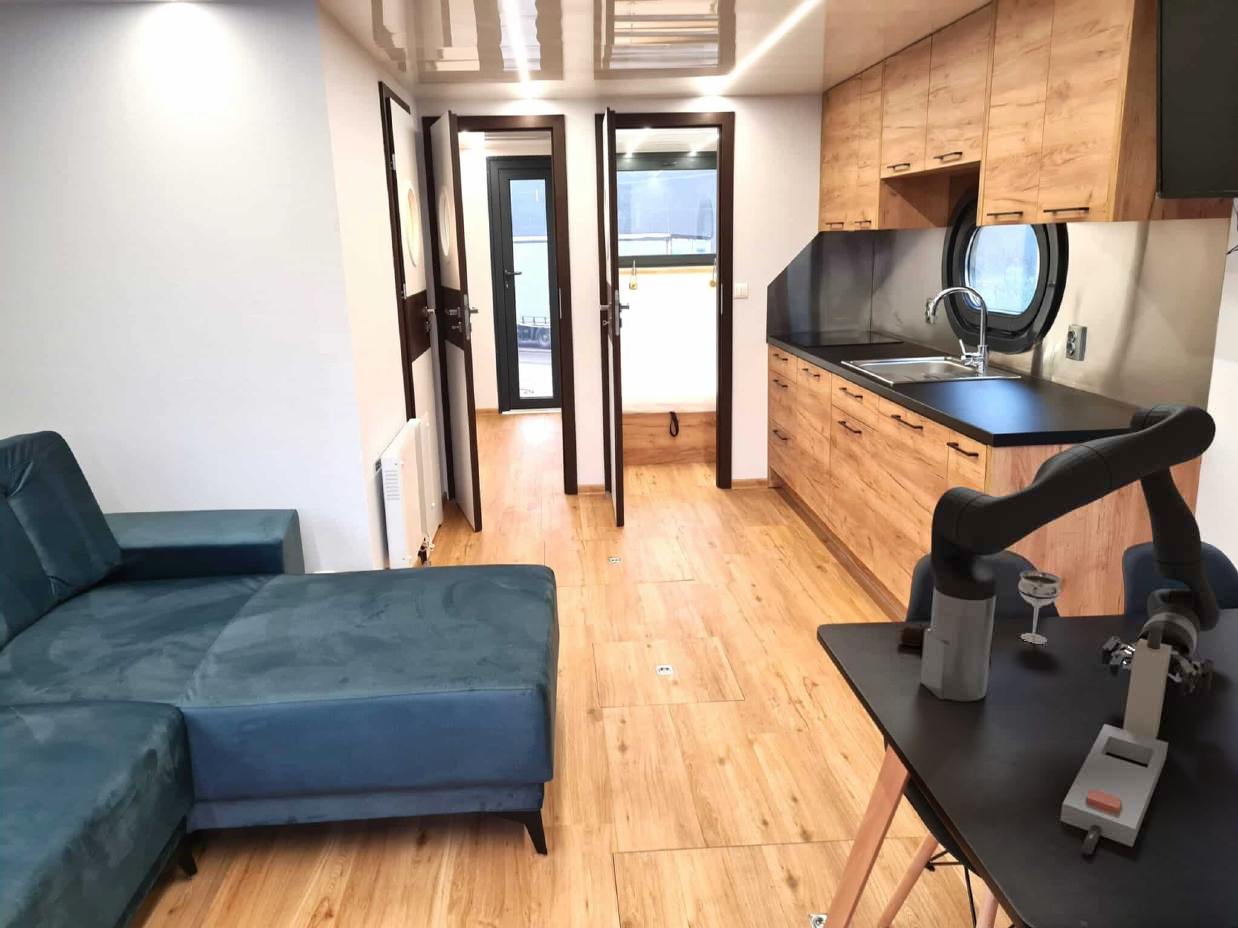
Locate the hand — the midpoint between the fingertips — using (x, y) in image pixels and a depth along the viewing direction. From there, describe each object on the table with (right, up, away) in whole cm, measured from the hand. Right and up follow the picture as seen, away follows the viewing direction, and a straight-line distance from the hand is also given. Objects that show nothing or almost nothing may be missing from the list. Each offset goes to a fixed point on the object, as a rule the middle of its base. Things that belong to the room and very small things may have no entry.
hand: (1148, 680), depth 129 cm
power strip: (-12, -12, -13) cm, 22 cm away
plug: (0, -8, +2) cm, 9 cm away
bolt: (-19, -2, +30) cm, 35 cm away
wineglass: (-1, -1, +33) cm, 33 cm away
